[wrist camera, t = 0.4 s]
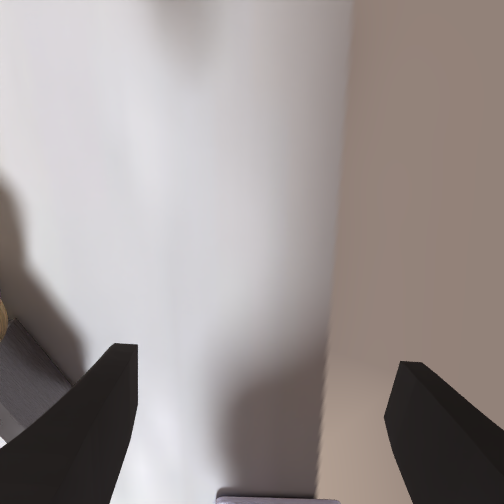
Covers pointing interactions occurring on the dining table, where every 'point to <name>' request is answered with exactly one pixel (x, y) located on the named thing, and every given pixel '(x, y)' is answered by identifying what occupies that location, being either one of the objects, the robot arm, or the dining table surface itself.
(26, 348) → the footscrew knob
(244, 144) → the dining table surface
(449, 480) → the robot arm
